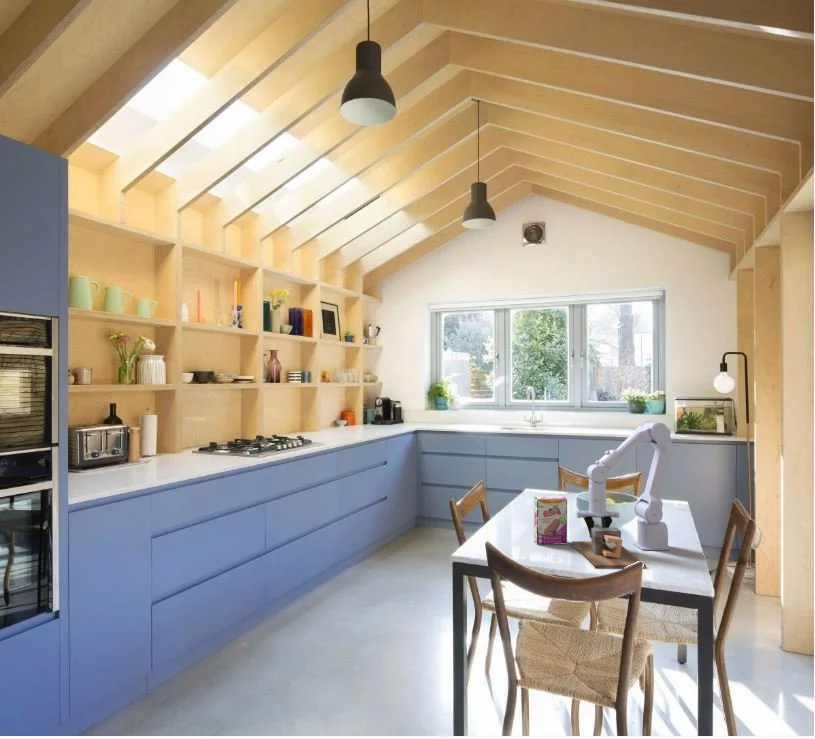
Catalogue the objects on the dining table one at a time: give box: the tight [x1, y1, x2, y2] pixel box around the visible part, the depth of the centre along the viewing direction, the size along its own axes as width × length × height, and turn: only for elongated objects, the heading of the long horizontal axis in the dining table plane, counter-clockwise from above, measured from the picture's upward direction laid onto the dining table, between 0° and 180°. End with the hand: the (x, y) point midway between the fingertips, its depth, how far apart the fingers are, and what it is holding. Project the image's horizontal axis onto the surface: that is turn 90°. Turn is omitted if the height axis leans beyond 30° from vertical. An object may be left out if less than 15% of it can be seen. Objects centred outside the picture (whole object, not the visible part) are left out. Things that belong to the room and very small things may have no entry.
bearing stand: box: [571, 527, 647, 569], centre depth 193 cm, size 16×26×9 cm, turn 0°
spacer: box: [602, 535, 623, 558], centre depth 189 cm, size 6×4×5 cm
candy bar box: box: [533, 496, 568, 545], centre depth 208 cm, size 11×5×16 cm, turn 92°
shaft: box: [594, 526, 617, 550], centre depth 195 cm, size 4×17×4 cm, turn 0°
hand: (597, 538), depth 202 cm, fingers closed on shaft, 4 cm apart
